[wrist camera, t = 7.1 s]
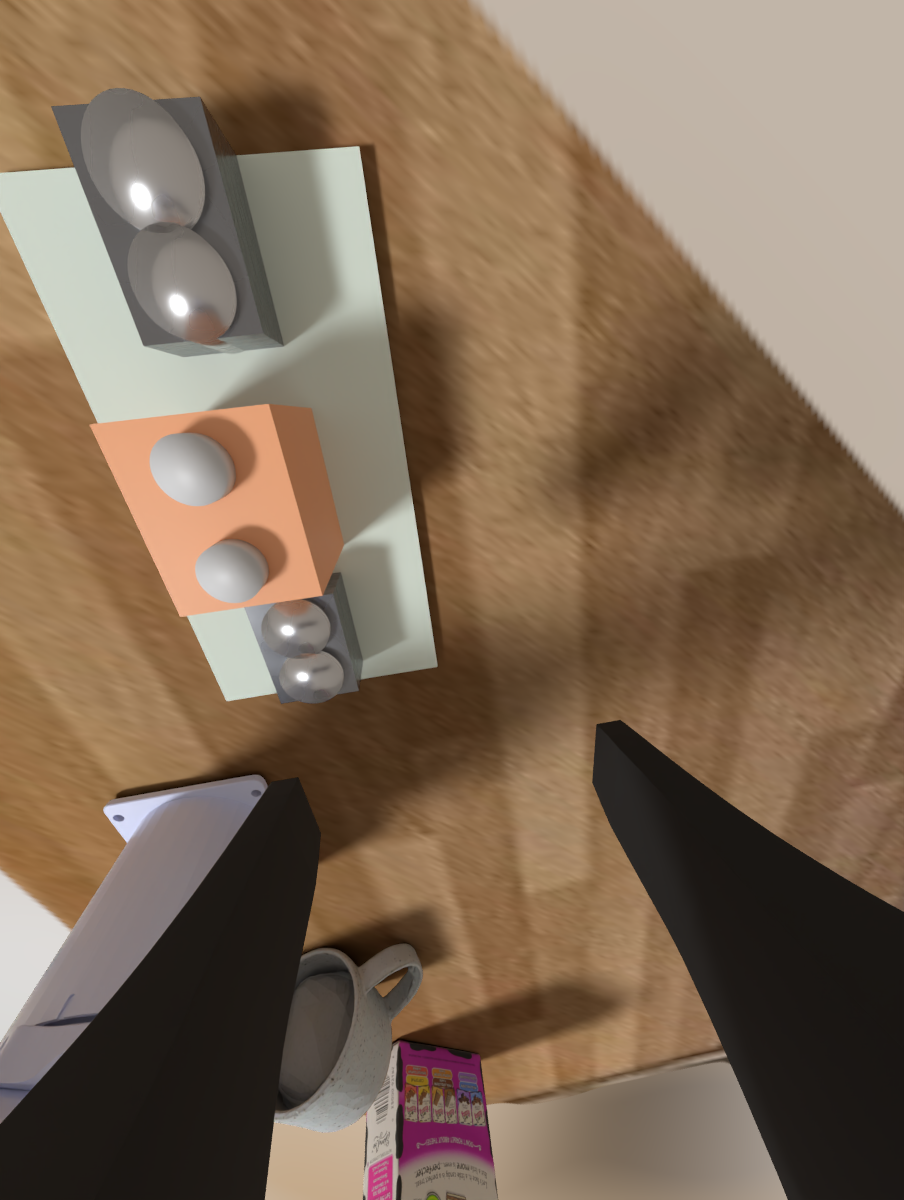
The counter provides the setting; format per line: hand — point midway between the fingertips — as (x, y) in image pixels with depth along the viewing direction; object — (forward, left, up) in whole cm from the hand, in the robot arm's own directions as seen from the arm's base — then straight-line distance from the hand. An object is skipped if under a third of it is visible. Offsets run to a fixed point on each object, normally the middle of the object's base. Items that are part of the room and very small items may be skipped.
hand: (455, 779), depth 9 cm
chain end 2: (0, +5, -9) cm, 10 cm away
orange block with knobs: (+6, +5, -9) cm, 12 cm away
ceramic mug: (-30, +10, -10) cm, 33 cm away
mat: (+6, +5, -9) cm, 12 cm away
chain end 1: (+13, +5, -9) cm, 16 cm away
